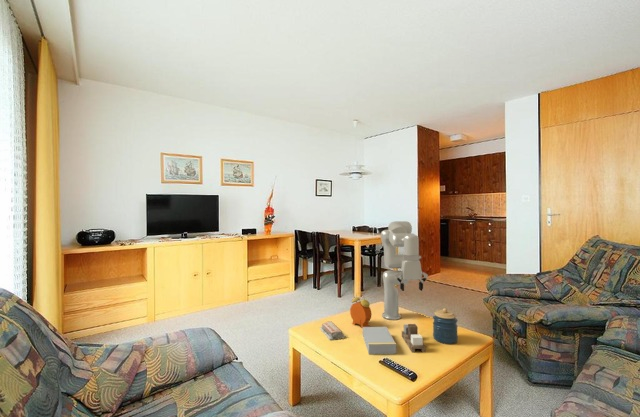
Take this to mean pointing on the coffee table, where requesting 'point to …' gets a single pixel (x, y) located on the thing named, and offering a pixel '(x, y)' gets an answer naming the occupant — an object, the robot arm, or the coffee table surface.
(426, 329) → the coffee table surface
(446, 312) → the canister
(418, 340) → the block
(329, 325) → the packaged product
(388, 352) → the dock
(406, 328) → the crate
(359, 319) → the alarm clock
